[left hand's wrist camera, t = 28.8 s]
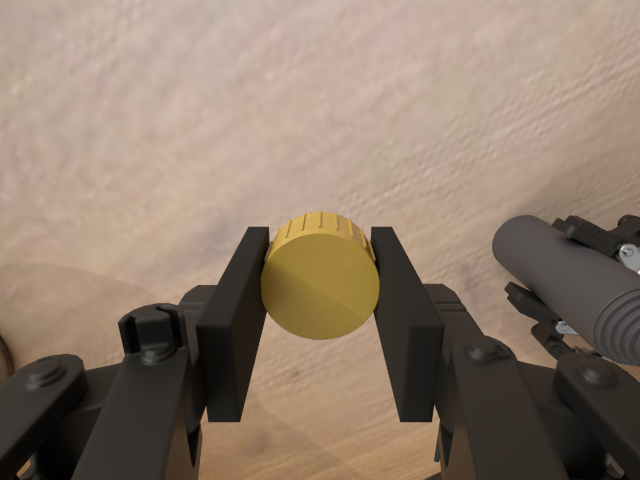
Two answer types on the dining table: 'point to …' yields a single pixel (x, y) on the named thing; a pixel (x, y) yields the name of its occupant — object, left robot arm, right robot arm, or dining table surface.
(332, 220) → the cap
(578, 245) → the bottle
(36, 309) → the dining table surface
